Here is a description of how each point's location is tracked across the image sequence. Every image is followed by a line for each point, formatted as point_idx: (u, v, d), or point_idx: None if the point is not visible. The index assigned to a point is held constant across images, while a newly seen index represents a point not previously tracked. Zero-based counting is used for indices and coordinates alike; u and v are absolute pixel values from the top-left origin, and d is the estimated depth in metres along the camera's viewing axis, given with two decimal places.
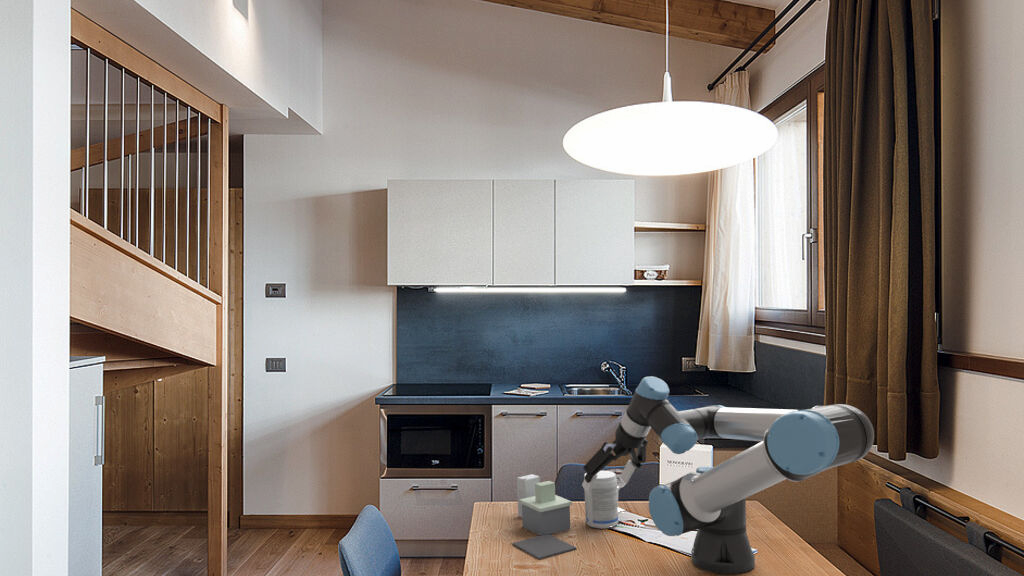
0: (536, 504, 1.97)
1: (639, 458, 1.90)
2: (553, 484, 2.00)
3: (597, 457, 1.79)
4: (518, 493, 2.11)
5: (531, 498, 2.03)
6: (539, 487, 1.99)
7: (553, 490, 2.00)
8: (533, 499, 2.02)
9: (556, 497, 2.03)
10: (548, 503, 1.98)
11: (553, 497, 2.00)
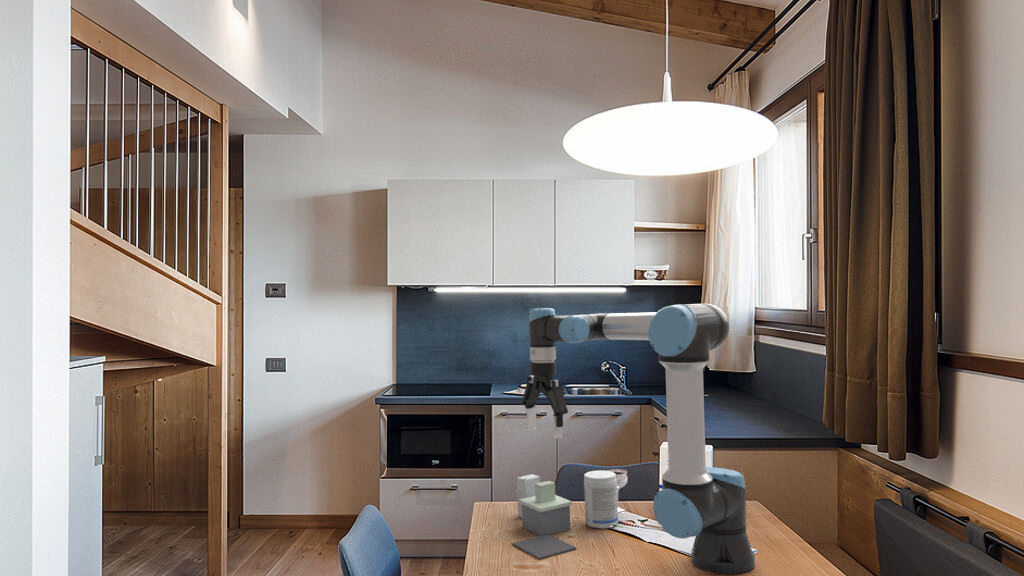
0: (536, 504, 1.97)
1: None
2: (553, 484, 2.00)
3: (559, 395, 1.94)
4: (518, 493, 2.11)
5: (531, 498, 2.03)
6: (539, 487, 1.99)
7: (553, 490, 2.00)
8: (533, 499, 2.02)
9: (556, 497, 2.03)
10: (548, 503, 1.98)
11: (553, 497, 2.00)
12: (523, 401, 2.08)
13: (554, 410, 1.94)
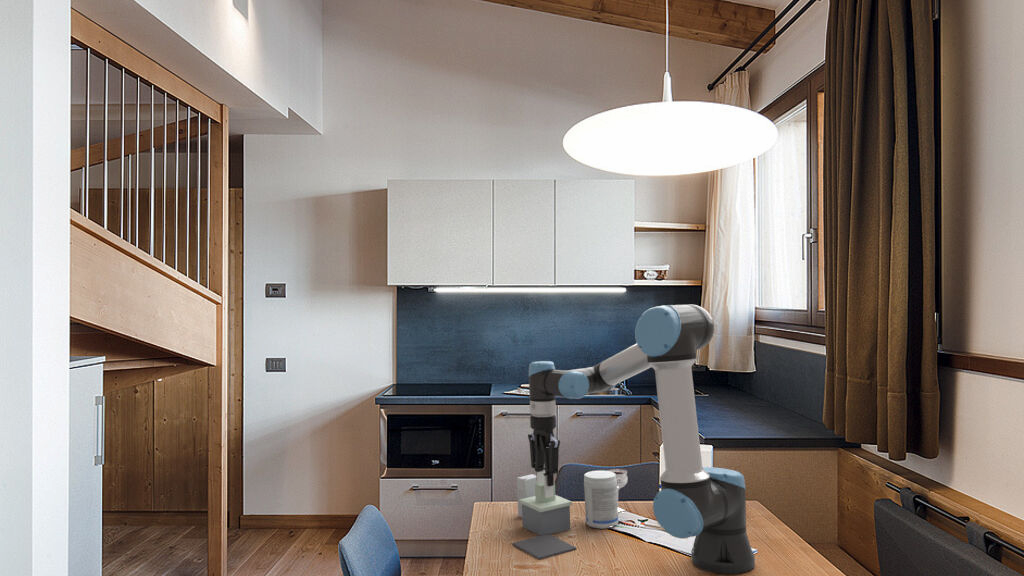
0: (536, 504, 1.97)
1: None
2: None
3: (555, 456, 1.96)
4: (518, 493, 2.11)
5: (531, 498, 2.03)
6: (539, 487, 1.99)
7: (553, 490, 2.00)
8: (533, 499, 2.02)
9: (556, 497, 2.03)
10: (548, 503, 1.98)
11: (553, 497, 2.00)
12: (532, 463, 2.04)
13: (546, 469, 1.98)
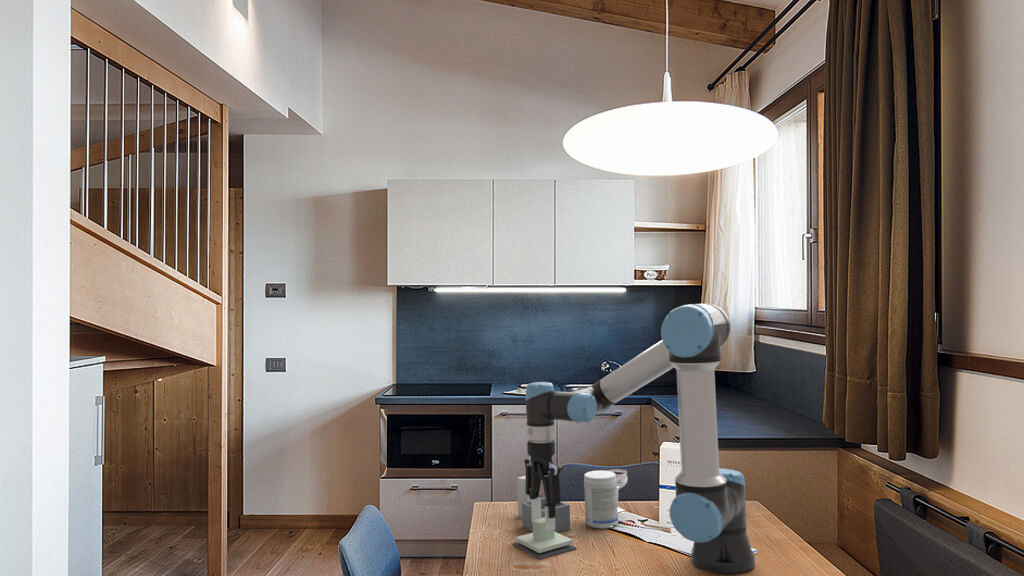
0: (534, 543, 1.82)
1: None
2: None
3: (555, 484, 1.80)
4: (518, 493, 2.11)
5: (528, 535, 1.88)
6: (537, 524, 1.84)
7: None
8: (530, 537, 1.87)
9: (555, 534, 1.88)
10: (547, 542, 1.83)
11: (552, 535, 1.85)
12: (526, 490, 1.90)
13: (547, 499, 1.82)
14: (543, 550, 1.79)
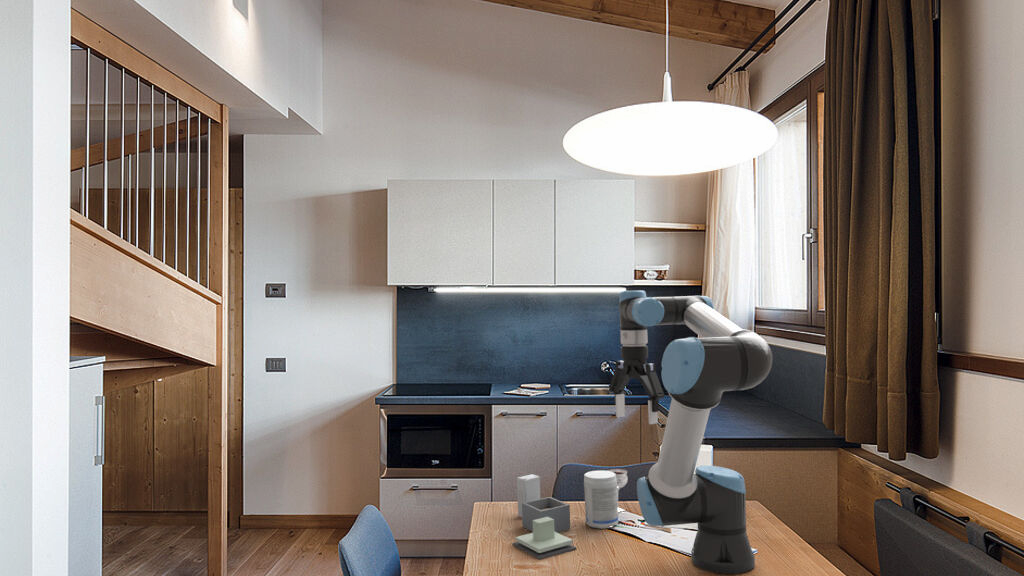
0: (534, 543, 1.82)
1: None
2: (552, 521, 1.85)
3: (655, 379, 1.88)
4: (518, 493, 2.11)
5: (528, 535, 1.88)
6: (537, 524, 1.84)
7: (552, 528, 1.85)
8: (530, 537, 1.87)
9: (555, 534, 1.88)
10: (547, 542, 1.83)
11: (552, 535, 1.85)
12: (611, 387, 2.02)
13: (649, 394, 1.88)
14: (543, 550, 1.79)
